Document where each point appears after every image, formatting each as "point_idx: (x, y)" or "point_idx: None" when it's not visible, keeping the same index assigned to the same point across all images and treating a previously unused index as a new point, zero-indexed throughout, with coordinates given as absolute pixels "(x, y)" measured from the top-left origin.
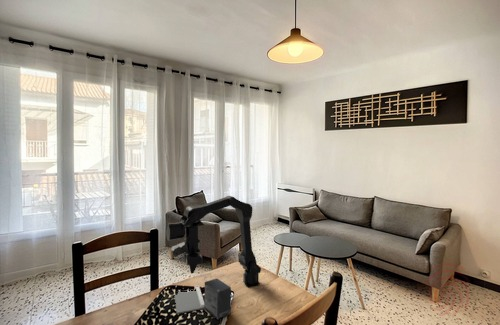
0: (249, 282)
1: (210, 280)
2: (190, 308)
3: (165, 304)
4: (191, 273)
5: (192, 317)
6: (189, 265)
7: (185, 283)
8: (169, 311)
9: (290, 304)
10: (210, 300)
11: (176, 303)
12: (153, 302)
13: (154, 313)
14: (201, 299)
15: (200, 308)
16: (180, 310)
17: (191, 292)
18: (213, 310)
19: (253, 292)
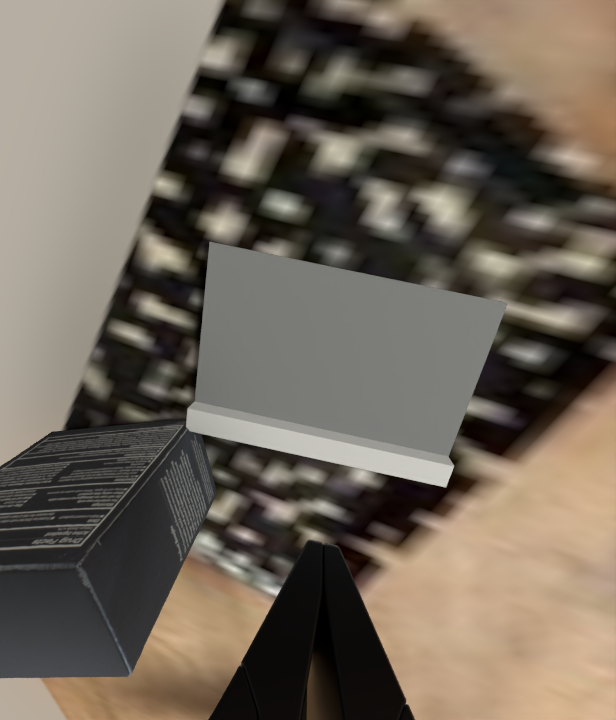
0: (304, 705)
1: (91, 620)
2: (219, 342)
3: (381, 194)
4: (306, 542)
5: (135, 323)
6: (247, 713)
7: (603, 426)
8: (267, 201)
9: (80, 702)
10: (62, 472)
11: (329, 273)
12: (477, 96)
13: (297, 74)
14: (259, 435)
15: (195, 396)
16: (224, 274)
17: (418, 415)
18: (65, 445)
19: (233, 662)
